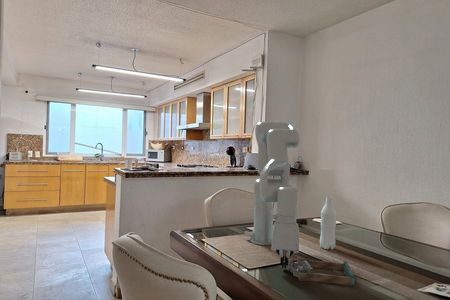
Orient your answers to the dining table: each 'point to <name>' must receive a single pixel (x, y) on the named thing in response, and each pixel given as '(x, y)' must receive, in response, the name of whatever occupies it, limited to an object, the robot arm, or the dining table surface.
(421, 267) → the dining table surface
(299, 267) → the egg carton
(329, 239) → the water bottle
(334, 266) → the guide
